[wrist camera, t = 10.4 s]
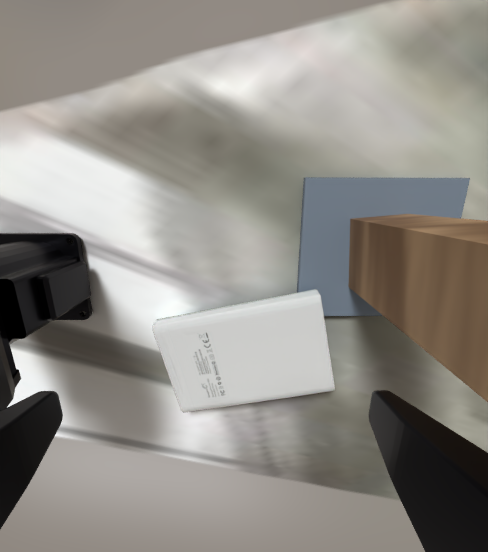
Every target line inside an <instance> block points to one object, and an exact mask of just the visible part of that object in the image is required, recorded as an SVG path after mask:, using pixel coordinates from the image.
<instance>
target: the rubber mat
mask: <svg viewBox="0 0 488 552" xmlns="http://www.w3.org/2000/svg"><path fill="white" fill-rule="evenodd" d="M469 180H470V178H304V185H303V201H302V218H301V234H300V250H299V267H298V283H297V293H298V292H303V291H308V290H314V289H316V290H318V292H319V294H320V295H321V302H322V307H323V313H324V316H383V315H382V314H381V313H379V312H378V311H377V310H376V309H375V308H373V307H372V306H371V305H370V304H368V303H367V302H366V301H365V300H364V299H362V298H361V297H360V296H359V295H358V294H356V293H355V292H354V291H353V290H352V289H350V288H349V287H348V284H349V248H350V219H352V218H364V217H376V216H388V215H400V214H416V215H427V216H438V217H449V218H460V219H461V216H462V211H463V207H464V203H465V198H466V194H467V189H468V185H469Z"/></svg>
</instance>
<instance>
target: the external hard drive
mask: <svg viewBox="0 0 488 552" xmlns="http://www.w3.org/2000/svg"><path fill="white" fill-rule="evenodd" d="M152 328H153V333H154V336H155V339H156V341H157V344H158V347H159V349H160V352H161V355H162V358H163V361H164V363H165V366H166V369H167V372H168V375H169V378H170V380H171V383H172V386H173V389H174V392H175V394H176V397H177V400H178V403H179V406H180V409H181V410H182V412H183V413H185V412H192V411H198V410H205V409H212V408H219V407H227V406H233V405H240V404H247V403H254V402H260V401H267V400H274V399H281V398H288V397H295V396H301V395H308V394H315V393H321V392H328V391H334V390H335V386H334V379H333V373H332V366H331V360H330V353H329V346H328V340H327V333H326V327H325V320H324V313H323V307H322V302H321V295H320V294H319V292H318V290H316V289H314V290H308V291H303V292H298V293H293V294H288V295H282V296H277V297H272V298H267V299H261V300H256V301H251V302H246V303H241V304H236V305H230V306H225V307H220V308H215V309H209V310H204V311H199V312H194V313H188V314H184V315H178V316H173V317H166V318H162V319H157V321H156V322H155V323H154V324H153V326H152Z"/></svg>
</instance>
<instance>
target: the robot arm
mask: <svg viewBox="0 0 488 552" xmlns="http://www.w3.org/2000/svg"><path fill="white" fill-rule="evenodd" d="M70 238H72V239H73V241H74V242H73V244H72V243H71V242H70ZM90 296H91V292H90V286H89V280H88V274H87V268H86V264H85V263H84V259H83V253H82V247H81V241H80V238H79V237H78V235H76V234H73V233H0V529H1V527H2V526H3V524H4V523H5V521H6V520H7V518H8V516H9V515H10V513H11V512H12V510H13V509H14V507H15V505H16V503H17V502H18V501H19V499H20V497H21V496H22V494H23V493H24V491H25V489H26V488H27V486H28V484H29V483H30V481H31V479H32V477H33V475H34V474H35V472H36V470H37V468H38V466H39V464H40V462H41V461H42V459H43V456H44V455H45V453H46V451H47V449H48V447H49V445H50V443H51V442H52V440H53V438H54V436H55V434H56V432H57V430H58V428H59V426H60V424H61V422H62V417H63V414H62V409H61V405H60V401H59V396H58V394H57V393H56V392H54V391H41V392H38V393H36V394H34V395H32V396H30V397H28V398H26V399H24V400H22V401H20V402H18V403H16V404H14V405H12V406H10V407H8V408H7V406H8V405H9V404H10V402H11V401H12V400H13V397H14V391H15V387H16V386H17V384H18V382H19V381H20V379H21V376H20V373H19V370H16V367H15V363H14V360H13V356H12V352H11V349H10V344H12V343H14V342H15V341H17V340H18V339H23V338H26V337H27V336H29V335H30V334H32V333H33V332H35V331H36V330H38V329H40V328H41V327H43V326H44V325H46V324H47V323H49V322H50V321H52V320H85V319H88V318H89V317H90V316H91V315H92V307H91V301H90ZM82 311H85V312H86V314H84V313H83V312H82ZM369 421H370V424H371V427H372V430H373V432H374V435H375V438H376V440H377V443H378V446H379V448H380V451H381V454H382V457H383V459H384V462H385V465H386V467H387V470H388V473H389V475H390V478H391V480H392V482H393V485H394V487H395V489H396V491H397V493H398V495H399V498H400V500H401V502H402V504H403V506H404V508H405V510H406V512H407V514H408V516H409V518H410V520H411V522H412V525H413V527H414V529H415V531H416V533H417V535H418V537H419V539H420V541H421V543H422V546H423V548H424V550H425V552H488V453H487V452H486V451H484V450H482V449H481V448H479V447H478V446H476V445H474V444H473V443H471V442H470V441H468V440H466V439H465V438H463V437H462V436H460V435H458V434H457V433H455V432H454V431H452V430H450V429H449V428H447V427H446V426H444V425H443V424H441V423H439V422H438V421H436V420H435V419H433V418H431V417H430V416H428V415H427V414H425V413H423V412H422V411H420V410H419V409H417V408H415V407H414V406H412V405H411V404H409V403H408V402H406V401H404V400H403V399H401V398H400V397H398V396H396V395H395V394H393V393H392V392H390V391H386V390H381V391H374V392H373V393H372V397H371V403H370V409H369Z"/></svg>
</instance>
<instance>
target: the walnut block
mask: <svg viewBox="0 0 488 552" xmlns="http://www.w3.org/2000/svg"><path fill="white" fill-rule="evenodd" d="M348 287H349V288H350V289H352V290H353V291H354V292H355V293H356V294H358V295H359V296H360V297H361V298H362V299H364V300H365V301H366V302H367V303H368V304H370V305H371V306H372V307H373V308H375V309H376V310H377V311H378V312H379V313H381V314H382V315H383V316H384V317H385V318H387V319H388V320H389V321H390V322H391V323H393V324H394V325H395V326H396V327H397V328H399V329H400V330H401V331H402V332H404V333H405V334H406V335H407V336H408V337H410V338H411V339H412V340H413V341H414V342H416V343H417V344H418V345H419V346H420V347H422V348H423V349H424V350H425V351H426V352H428V353H429V354H430V355H431V356H433V357H434V358H435V359H436V360H437V361H439V362H440V363H441V364H442V365H443V366H445V367H446V368H447V369H448V370H449V371H451V372H452V373H453V374H454V375H455V376H457V377H458V378H459V379H460V380H462V381H463V382H464V383H465V384H466V385H468V386H469V387H470V388H471V389H472V390H474V391H475V392H476V393H477V394H478V395H480V396H481V397H482V398H483V399H484V400H486V401H487V402H488V221H482V220H471V219H460V218H449V217H438V216H427V215H416V214H400V215H388V216H376V217H364V218H352V219H350V248H349V284H348Z"/></svg>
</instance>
